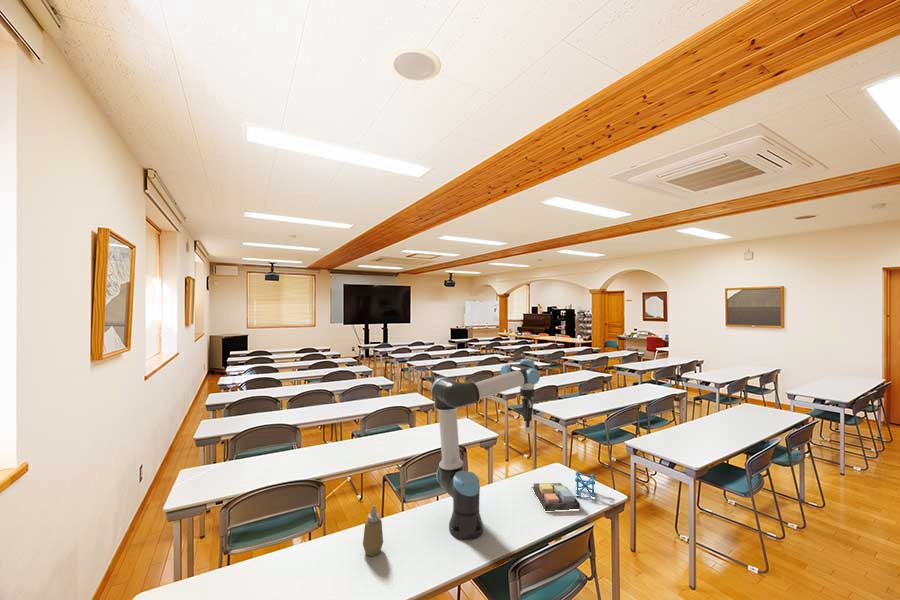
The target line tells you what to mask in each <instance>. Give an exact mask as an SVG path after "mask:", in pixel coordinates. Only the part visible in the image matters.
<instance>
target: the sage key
mask: <svg viewBox="0 0 900 600" xmlns="http://www.w3.org/2000/svg"><path fill="white" fill-rule="evenodd" d="M566 487H567V486H565V485H563V486H554V491H555V492H556V494H560V491H568V490H569V489H568V490H567V488H568V487H567V488H566Z"/></svg>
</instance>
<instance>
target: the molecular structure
mask: <svg viewBox="0 0 900 600" xmlns="http://www.w3.org/2000/svg"><path fill="white" fill-rule="evenodd" d="M581 476H583V477H590V478H589V479H588V480H584V479H582V477H581ZM595 478H596V475H595V474H594V473H591V474H585V473H580V472H579V471H576V472H575V479H574V481H575V482H576V486H575V488H576V487H577V490H576V492H575V493H576V494H577V495H579V493H580V494H581V493H582V491H584V490H583V489H587V490H588V491H587V492H588V493H589V496H592V497H595V498H596V495H595V493H594V489H595V486H594V485H596V480H595ZM580 484H582V485H580ZM590 485H591V487H589V486H590ZM578 488H582V489H580V490H579V491H578ZM589 490H592V493H591V491H589Z"/></svg>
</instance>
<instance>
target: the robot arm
mask: <svg viewBox="0 0 900 600" xmlns="http://www.w3.org/2000/svg"><path fill="white" fill-rule="evenodd" d="M540 378H541V375H540V372H539V371H538V370H537V368H535V361H534V360H533V359H528V358H522V359H520V362H519V363H512V364H511V363H510V364H509V363H508V364H503V365H502V366H501V367H500V374H499V375H497V376H492V377H490V378H486V379H483V380H480V381H477V382H475V381H473V380H472V381H468V382H459V381H456V380H453V379H451V378H449V377H439V378H437V379H436V380H435V381H433V383H432V384H431V387H430V395H431V397H432V398H433V400H434V408H435V410H437V411H438V419H439V420H438V421H439V435H440V436H439V437H440V448H441V449H440V451H441V452H440V453H441V460H440V461H439V463H438V468H437V469H436V476H435V478H436V481H437V484H439V486H440V487H441V489H442V490H443V491H445V492H446V493H447V494H448V495H449V496H450V497H451V498H452V500H453V501H452V503H453V504H452V505H453V506H452V507H453V508H452V509H453V510H452V513H451V516H450V520H449V523H448V530H449V533H450V535H451V536H453V537H455V538H456V539H459V540H465V541H471V540H476V539H478V538H479V537H480V536H482V535H483V533H484V522H483V519H482V516H481V513H480V491H481V486H480V478H479V476H478V475H477V474H476V473H474V472H472V471H468V470H464V468H465V467H464V461H463V460H462V459H461V458H460V444H459V443H460V442H459V441H460V440H459V429H458V425H459V424H458V415H457V414H458V412H457V410H458V409H459V408H463V407H466V406H470V405H474V404H477V403H479V402H480V400H482V399H484V398H486V397H490V396H493V395H497V394H499V393H502V392H506V391H508V390H512V389H515V388H517V387H519V388H520V389H519V392H520V393H519V395H520V396H521V397H523V398H521V402H522V403H521V404H522V418H523V422H524V424H523V425H524V427H523V428H524V430H523V431H524V434H531V422H532V417H533V406H534V404H533V400H532V397H534V396H535V385H536V384H538V383H539V381H540Z"/></svg>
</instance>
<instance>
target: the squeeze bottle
mask: <svg viewBox="0 0 900 600" xmlns="http://www.w3.org/2000/svg"><path fill="white" fill-rule="evenodd" d="M363 531H364V532H363V539H362V540H363V541H362V546H363V549H364V553H365V555H367V556H369V557H374V556H377V555H378V554H380V553H381V550H382V548H383V545H384V535H383V523H382V519H381V518H380V513H379V512H377V508H376V505H375V504H373V505H372V506H371V511H370V513H368V514H367V519H366V520H365V524H364V530H363Z"/></svg>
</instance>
